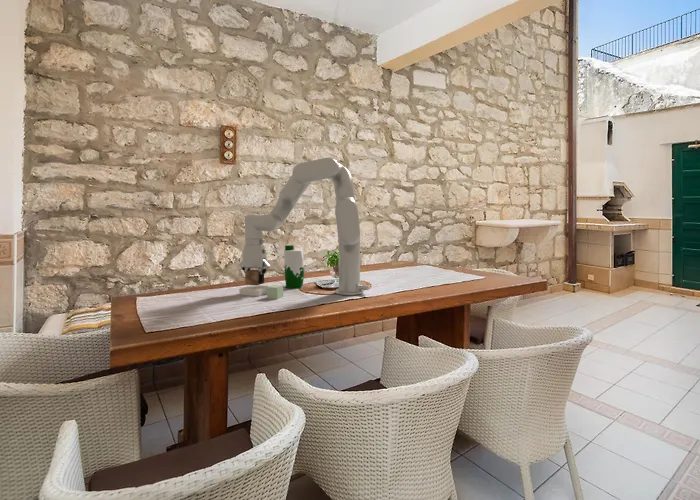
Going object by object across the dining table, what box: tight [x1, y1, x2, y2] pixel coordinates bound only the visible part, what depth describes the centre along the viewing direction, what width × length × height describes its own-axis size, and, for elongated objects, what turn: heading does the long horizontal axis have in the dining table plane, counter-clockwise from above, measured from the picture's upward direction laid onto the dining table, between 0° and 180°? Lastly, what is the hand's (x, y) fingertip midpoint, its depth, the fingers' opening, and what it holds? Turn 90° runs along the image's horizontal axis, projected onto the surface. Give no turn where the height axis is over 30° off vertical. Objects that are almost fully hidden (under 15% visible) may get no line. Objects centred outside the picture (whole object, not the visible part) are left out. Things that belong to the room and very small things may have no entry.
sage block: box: [266, 284, 284, 300], centre depth 174 cm, size 5×5×5 cm
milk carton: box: [283, 244, 305, 289], centre depth 197 cm, size 9×9×20 cm
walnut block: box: [244, 268, 265, 286], centre depth 183 cm, size 6×6×6 cm
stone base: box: [238, 284, 269, 297], centre depth 183 cm, size 10×10×2 cm
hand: (254, 282), depth 183 cm, fingers closed on walnut block, 6 cm apart
